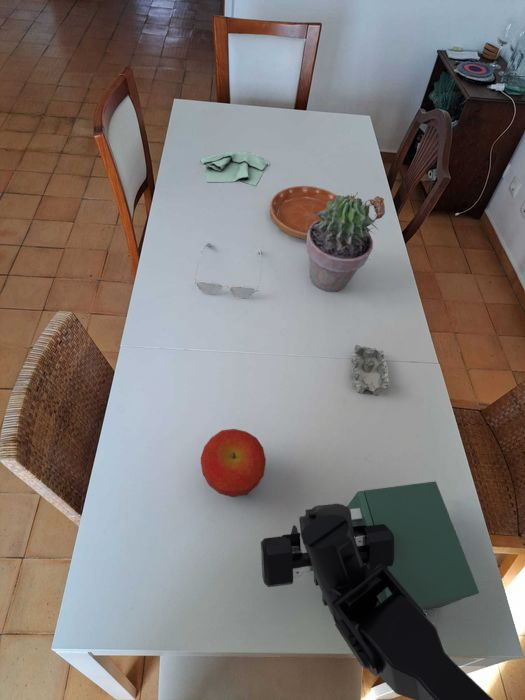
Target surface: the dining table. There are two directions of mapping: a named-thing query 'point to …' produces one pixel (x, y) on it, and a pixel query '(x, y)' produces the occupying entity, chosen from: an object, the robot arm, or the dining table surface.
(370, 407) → the dining table surface
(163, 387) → the dining table surface
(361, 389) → the egg carton
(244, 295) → the eyeglasses
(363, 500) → the cooler door
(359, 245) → the potted plant
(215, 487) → the apple
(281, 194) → the saucer
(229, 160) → the cloth
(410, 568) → the box
